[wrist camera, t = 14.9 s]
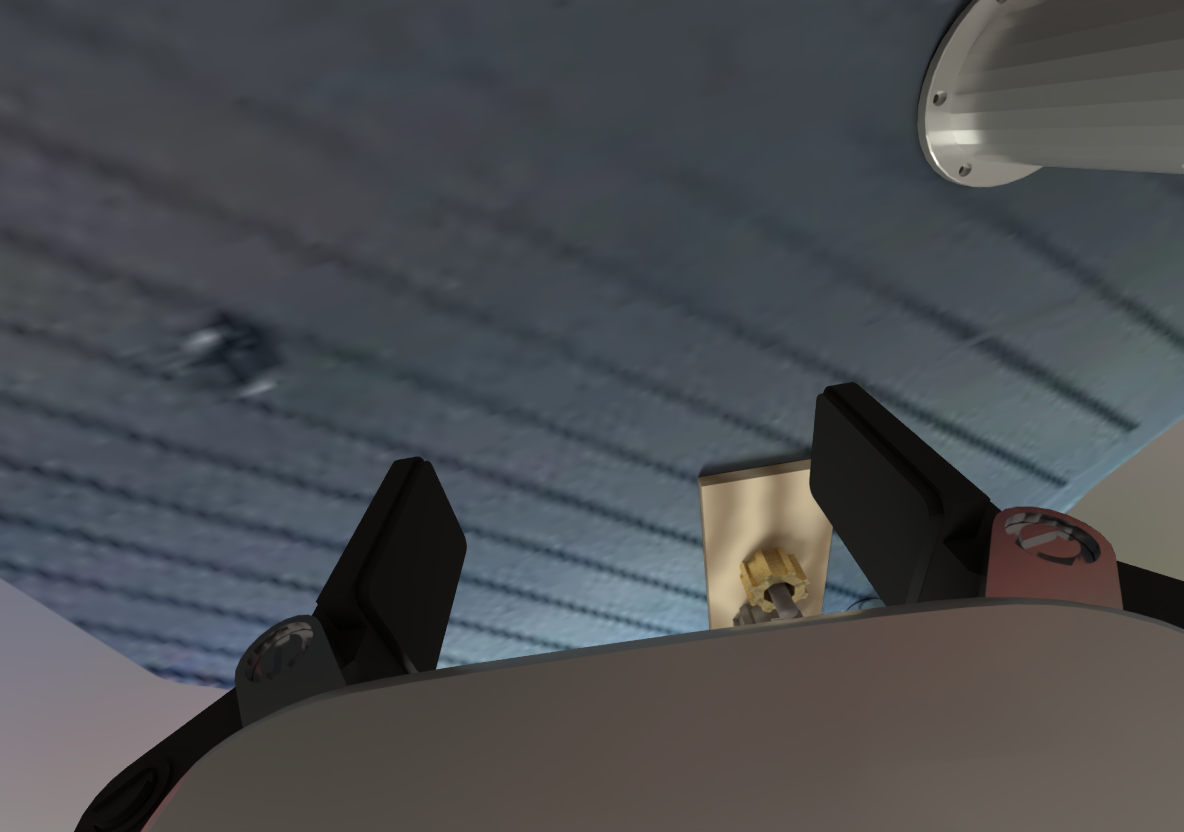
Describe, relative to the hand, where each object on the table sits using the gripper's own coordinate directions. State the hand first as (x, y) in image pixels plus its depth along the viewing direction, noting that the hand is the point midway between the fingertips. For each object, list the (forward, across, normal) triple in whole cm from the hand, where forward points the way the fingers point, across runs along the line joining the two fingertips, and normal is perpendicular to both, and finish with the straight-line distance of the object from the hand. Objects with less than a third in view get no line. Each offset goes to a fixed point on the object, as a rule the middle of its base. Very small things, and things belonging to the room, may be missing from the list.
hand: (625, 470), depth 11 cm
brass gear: (+27, -14, +39) cm, 49 cm away
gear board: (+28, -14, +40) cm, 51 cm away
